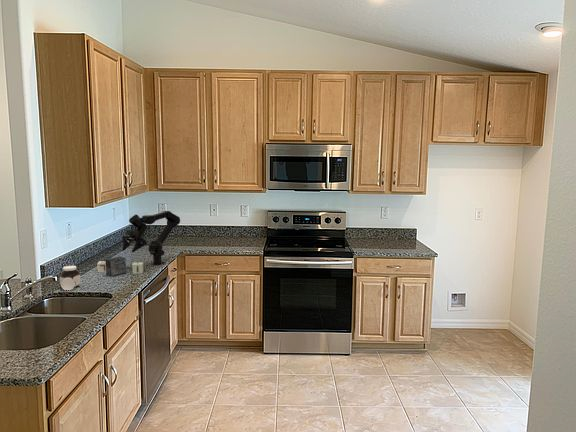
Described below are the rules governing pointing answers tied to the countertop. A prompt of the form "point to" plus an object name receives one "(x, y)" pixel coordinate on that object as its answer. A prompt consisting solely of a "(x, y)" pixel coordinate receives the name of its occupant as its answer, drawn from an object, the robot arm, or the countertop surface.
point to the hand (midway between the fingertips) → (127, 251)
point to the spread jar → (70, 278)
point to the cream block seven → (101, 266)
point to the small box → (115, 266)
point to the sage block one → (137, 267)
